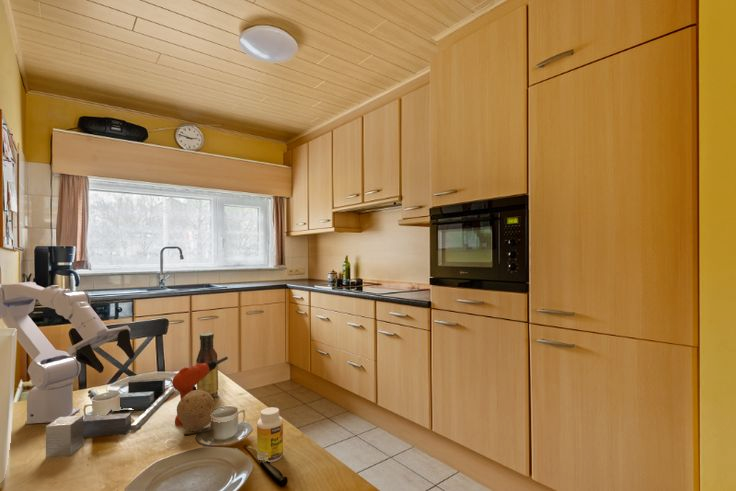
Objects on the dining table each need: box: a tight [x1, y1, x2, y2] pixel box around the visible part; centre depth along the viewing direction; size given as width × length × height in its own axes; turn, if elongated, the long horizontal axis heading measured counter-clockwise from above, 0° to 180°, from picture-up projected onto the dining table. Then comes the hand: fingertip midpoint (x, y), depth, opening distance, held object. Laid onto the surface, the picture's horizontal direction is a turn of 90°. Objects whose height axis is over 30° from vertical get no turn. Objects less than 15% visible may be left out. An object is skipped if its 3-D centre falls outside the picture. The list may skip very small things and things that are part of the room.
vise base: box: [83, 386, 175, 438], centre depth 110 cm, size 14×30×4 cm, turn 9°
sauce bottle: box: [195, 332, 219, 399], centre depth 121 cm, size 7×6×20 cm
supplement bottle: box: [256, 407, 284, 464], centre depth 85 cm, size 6×6×10 cm
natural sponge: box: [176, 390, 216, 432], centre depth 99 cm, size 9×9×10 cm
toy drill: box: [171, 356, 229, 427], centre depth 109 cm, size 5×19×15 cm, turn 154°
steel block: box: [45, 414, 84, 459], centre depth 89 cm, size 5×5×7 cm
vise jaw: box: [119, 378, 166, 411], centre depth 117 cm, size 10×12×5 cm
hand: (117, 363), depth 100 cm, fingers open, 7 cm apart
